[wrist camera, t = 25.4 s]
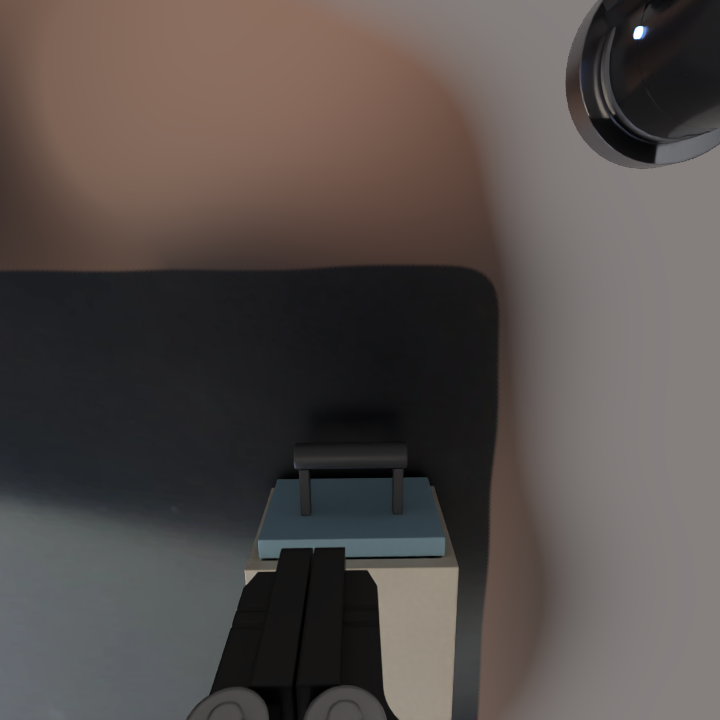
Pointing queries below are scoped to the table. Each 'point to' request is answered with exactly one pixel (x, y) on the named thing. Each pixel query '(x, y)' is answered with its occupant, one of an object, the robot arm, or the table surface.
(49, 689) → the table surface
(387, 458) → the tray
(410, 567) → the beige drawer box
